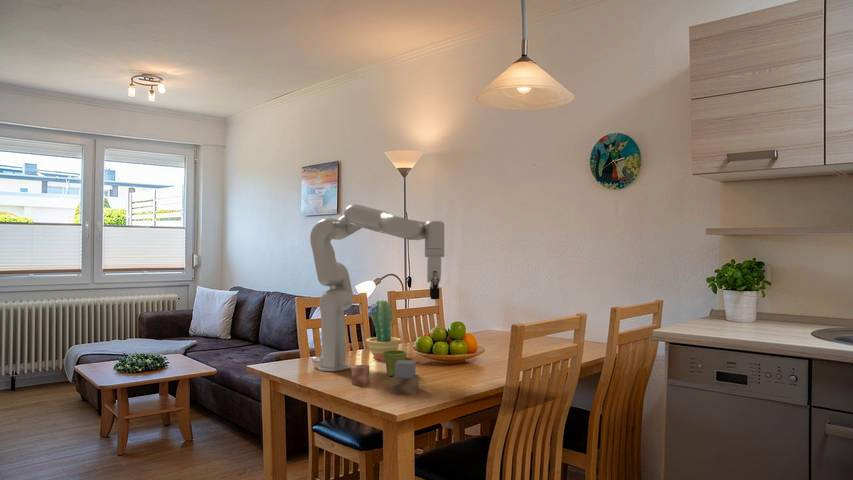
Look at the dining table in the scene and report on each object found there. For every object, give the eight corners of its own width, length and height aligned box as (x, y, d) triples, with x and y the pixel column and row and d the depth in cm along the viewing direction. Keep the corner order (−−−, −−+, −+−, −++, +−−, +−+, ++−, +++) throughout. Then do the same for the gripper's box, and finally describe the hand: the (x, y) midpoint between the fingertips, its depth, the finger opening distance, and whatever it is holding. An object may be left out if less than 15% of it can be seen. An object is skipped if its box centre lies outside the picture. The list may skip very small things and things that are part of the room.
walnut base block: (390, 394, 195) (390, 379, 195) (396, 388, 203) (396, 373, 203) (414, 395, 193) (414, 379, 193) (418, 389, 201) (418, 374, 201)
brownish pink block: (351, 384, 207) (351, 367, 207) (356, 381, 212) (356, 364, 212) (365, 385, 206) (365, 368, 206) (369, 382, 211) (369, 365, 211)
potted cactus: (370, 354, 265) (370, 298, 265) (403, 354, 263) (403, 299, 263) (361, 360, 250) (361, 302, 250) (397, 361, 247) (397, 302, 248)
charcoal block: (394, 378, 196) (394, 363, 196) (398, 374, 202) (398, 360, 202) (412, 379, 195) (412, 363, 195) (415, 375, 201) (415, 360, 201)
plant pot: (388, 378, 216) (388, 355, 216) (378, 373, 224) (378, 351, 224) (411, 376, 220) (411, 353, 220) (401, 371, 229) (400, 349, 229)
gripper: (424, 252, 233) (424, 295, 233) (425, 253, 215) (425, 300, 215) (443, 252, 233) (443, 295, 233) (445, 253, 216) (445, 300, 215)
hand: (434, 297), depth 224 cm, fingers open, 9 cm apart
